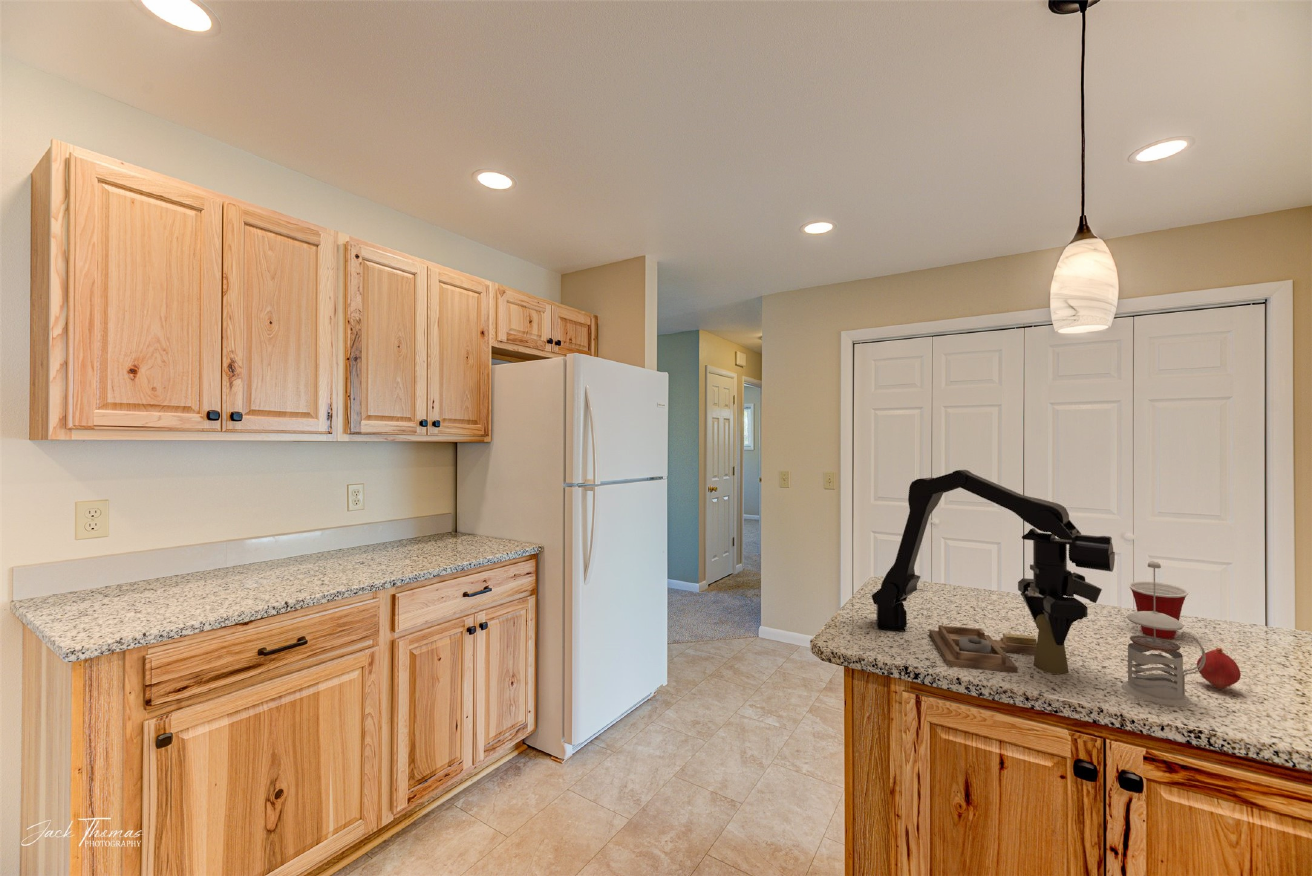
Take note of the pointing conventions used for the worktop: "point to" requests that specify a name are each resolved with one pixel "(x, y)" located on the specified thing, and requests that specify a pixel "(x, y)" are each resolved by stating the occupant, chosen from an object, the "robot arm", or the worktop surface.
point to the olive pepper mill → (1049, 650)
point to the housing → (976, 649)
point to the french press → (1157, 659)
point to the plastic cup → (1158, 603)
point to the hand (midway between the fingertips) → (1050, 637)
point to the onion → (1219, 669)
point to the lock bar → (1019, 639)
